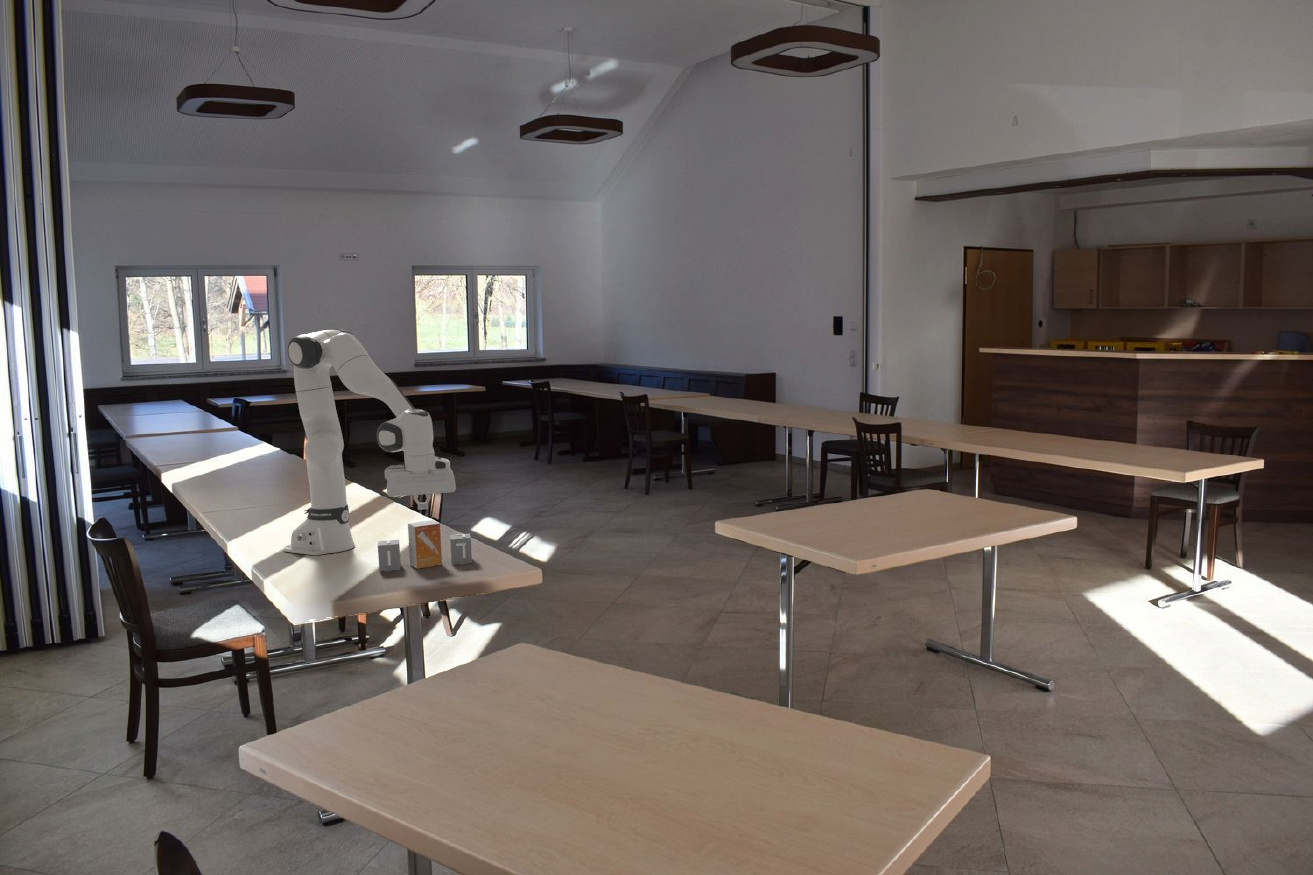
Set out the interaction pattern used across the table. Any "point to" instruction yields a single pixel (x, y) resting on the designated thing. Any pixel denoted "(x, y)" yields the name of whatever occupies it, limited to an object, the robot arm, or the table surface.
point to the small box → (424, 544)
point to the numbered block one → (389, 555)
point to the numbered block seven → (460, 548)
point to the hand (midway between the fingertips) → (422, 508)
